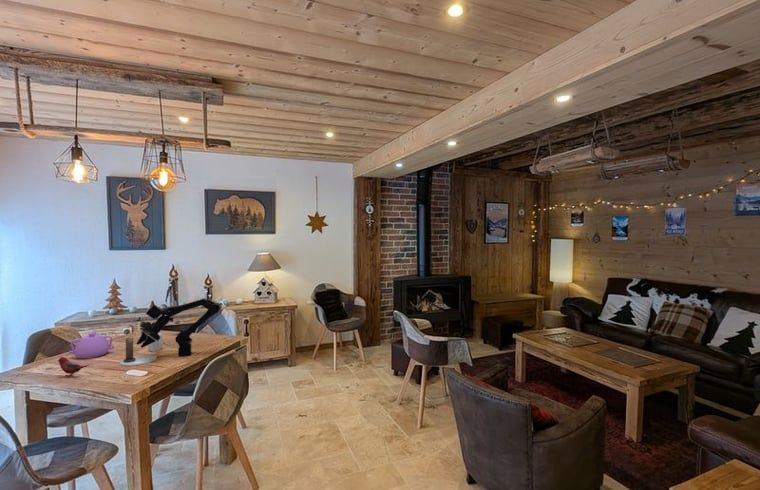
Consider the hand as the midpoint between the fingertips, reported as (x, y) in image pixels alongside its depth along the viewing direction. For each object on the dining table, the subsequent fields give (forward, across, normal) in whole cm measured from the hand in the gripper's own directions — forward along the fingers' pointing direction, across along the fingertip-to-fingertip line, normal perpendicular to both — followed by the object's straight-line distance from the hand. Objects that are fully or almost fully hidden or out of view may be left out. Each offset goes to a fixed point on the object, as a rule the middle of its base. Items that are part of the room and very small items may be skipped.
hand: (139, 345), depth 214 cm
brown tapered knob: (+9, 0, +2) cm, 9 cm away
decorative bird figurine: (+28, +5, -15) cm, 32 cm away
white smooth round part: (+6, 0, +6) cm, 9 cm away
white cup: (-2, -18, +16) cm, 24 cm away
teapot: (+18, -35, -6) cm, 40 cm away
